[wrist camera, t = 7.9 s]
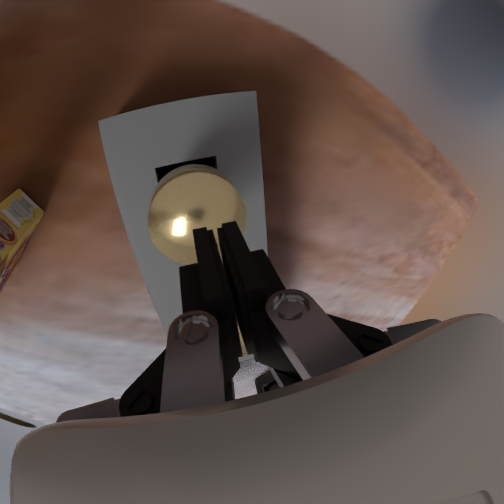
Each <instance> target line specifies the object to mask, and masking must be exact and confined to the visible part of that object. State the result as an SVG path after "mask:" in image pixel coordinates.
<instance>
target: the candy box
mask: <svg viewBox="0 0 504 504" xmlns="http://www.w3.org/2000/svg"><path fill="white" fill-rule="evenodd" d="M43 214H44V211H43V210H42V209H41V208H40V207H39V206H38V205H37V204H36V203H35V202H33V201H32V200H31V199H30V198H29V197H28V196H27V195H26V194H25V193H24V192H23V191H22V190H21V189H20V188H19V189H17V190H16V191H15V192H13V193H12V194H11V195H9V196H8V197H7V198H6V199H4V200H3V201H2V202H1V203H0V293H1V292H2V290H3V288H4V286H5V285H6V283H7V281H8V280H9V278H10V277H11V275H12V273H13V272H14V270H15V269H16V267H17V265H18V262H19V260H20V258H21V256H22V254H23V252H24V250H25V248H26V246H27V244H28V242H29V240H30V237H31V235H32V234H33V232H34V230H35V228H36V227H37V225H38V223H39V221H40V220H41V218H42V216H43Z"/></svg>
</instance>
